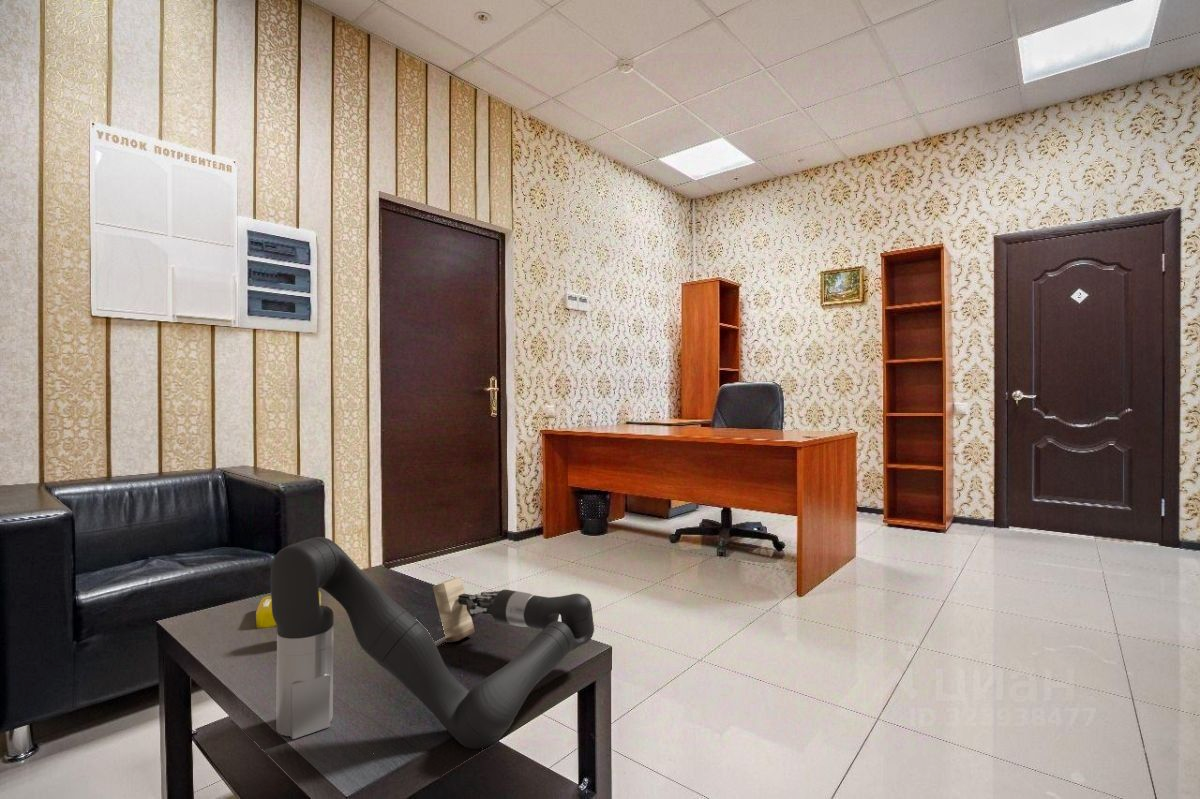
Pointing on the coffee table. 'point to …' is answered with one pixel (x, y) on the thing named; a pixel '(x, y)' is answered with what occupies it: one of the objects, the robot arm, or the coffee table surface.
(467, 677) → the coffee table surface
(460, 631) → the birch block
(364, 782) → the coffee table surface
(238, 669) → the coffee table surface
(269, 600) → the element tile
